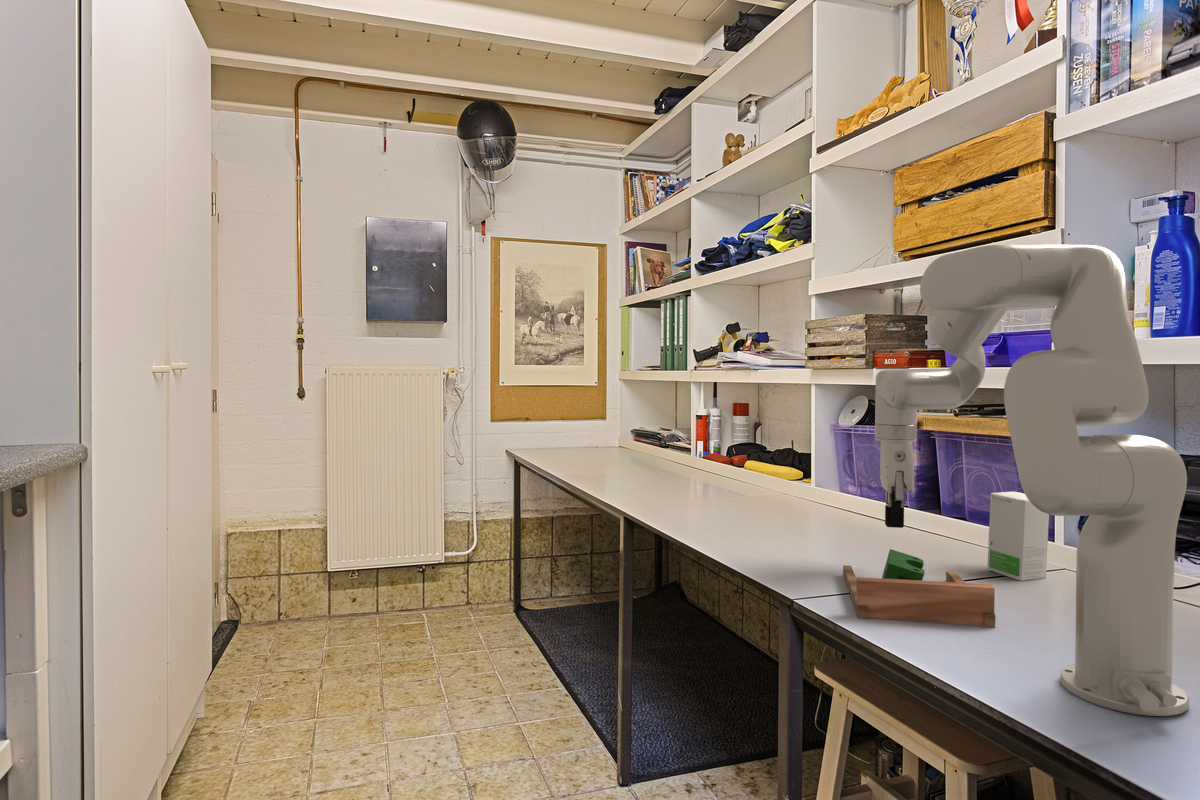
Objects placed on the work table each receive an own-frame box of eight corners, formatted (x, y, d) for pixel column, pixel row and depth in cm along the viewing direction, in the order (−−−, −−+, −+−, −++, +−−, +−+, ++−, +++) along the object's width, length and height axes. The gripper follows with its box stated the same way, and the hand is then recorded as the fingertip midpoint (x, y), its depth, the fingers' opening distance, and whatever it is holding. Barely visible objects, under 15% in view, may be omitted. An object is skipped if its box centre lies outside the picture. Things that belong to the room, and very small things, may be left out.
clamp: (910, 619, 126) (923, 581, 122) (875, 607, 128) (887, 569, 124) (917, 578, 135) (929, 541, 131) (884, 567, 138) (895, 530, 133)
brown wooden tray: (995, 627, 109) (995, 588, 109) (858, 618, 114) (858, 581, 114) (954, 581, 133) (954, 549, 133) (842, 575, 138) (843, 544, 138)
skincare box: (986, 570, 141) (987, 492, 140) (1012, 567, 143) (1013, 490, 142) (1023, 582, 133) (1024, 499, 132) (1050, 578, 135) (1050, 497, 134)
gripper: (924, 437, 129) (922, 536, 130) (909, 429, 144) (907, 519, 145) (880, 436, 131) (879, 534, 132) (869, 429, 146) (868, 517, 147)
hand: (894, 526), depth 138 cm, fingers closed
